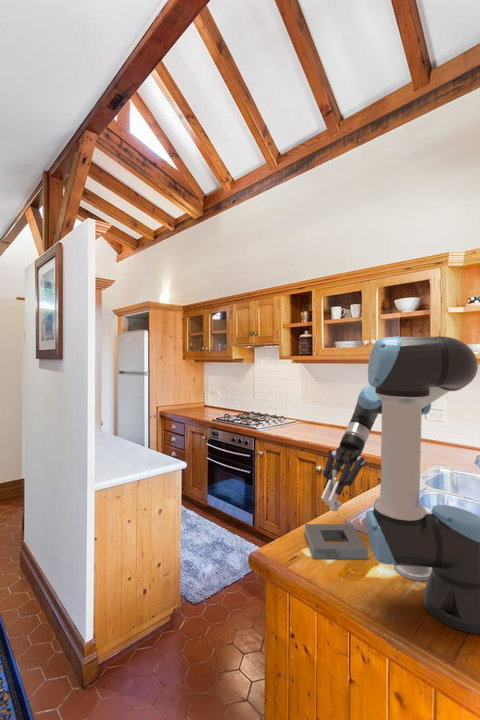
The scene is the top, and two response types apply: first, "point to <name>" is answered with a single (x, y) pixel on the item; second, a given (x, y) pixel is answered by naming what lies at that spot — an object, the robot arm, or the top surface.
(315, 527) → the socket plate
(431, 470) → the top surface
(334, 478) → the screw
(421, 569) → the mechanical component
